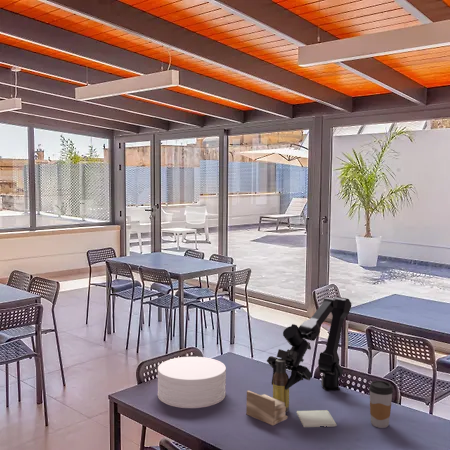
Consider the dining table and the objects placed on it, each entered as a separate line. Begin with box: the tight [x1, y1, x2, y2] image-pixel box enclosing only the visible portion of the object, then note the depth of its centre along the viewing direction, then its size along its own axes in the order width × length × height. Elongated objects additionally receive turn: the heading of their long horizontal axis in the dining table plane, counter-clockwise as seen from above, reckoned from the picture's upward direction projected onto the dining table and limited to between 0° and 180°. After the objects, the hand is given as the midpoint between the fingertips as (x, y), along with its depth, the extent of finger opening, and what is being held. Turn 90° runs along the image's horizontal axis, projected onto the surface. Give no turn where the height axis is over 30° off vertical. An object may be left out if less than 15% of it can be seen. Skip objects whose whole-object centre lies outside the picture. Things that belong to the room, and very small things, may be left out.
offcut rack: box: [245, 390, 288, 426], centre depth 198 cm, size 9×13×9 cm
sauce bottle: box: [272, 358, 290, 413], centre depth 203 cm, size 6×6×20 cm
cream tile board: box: [296, 409, 337, 428], centre depth 196 cm, size 12×12×1 cm
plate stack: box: [157, 356, 227, 409], centre depth 218 cm, size 28×28×12 cm
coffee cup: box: [368, 380, 394, 429], centre depth 192 cm, size 8×8×15 cm
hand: (278, 386), depth 202 cm, fingers closed on sauce bottle, 6 cm apart
